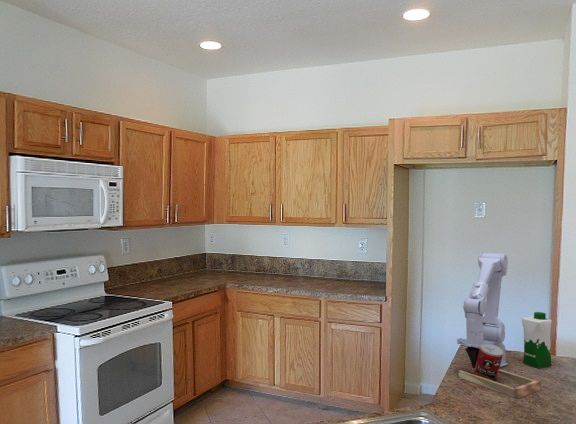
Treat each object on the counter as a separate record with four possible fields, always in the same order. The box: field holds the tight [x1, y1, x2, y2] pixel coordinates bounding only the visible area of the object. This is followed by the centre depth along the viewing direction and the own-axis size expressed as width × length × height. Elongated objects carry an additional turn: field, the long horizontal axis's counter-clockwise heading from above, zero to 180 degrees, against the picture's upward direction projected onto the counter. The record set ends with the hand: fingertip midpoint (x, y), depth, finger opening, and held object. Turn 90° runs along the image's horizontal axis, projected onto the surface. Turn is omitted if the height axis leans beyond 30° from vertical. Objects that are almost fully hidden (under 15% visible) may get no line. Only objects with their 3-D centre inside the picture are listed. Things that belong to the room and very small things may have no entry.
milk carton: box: [521, 311, 553, 370], centre depth 178 cm, size 9×9×20 cm
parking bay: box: [458, 368, 542, 399], centre depth 160 cm, size 13×23×3 cm, turn 32°
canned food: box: [474, 343, 503, 382], centre depth 163 cm, size 8×8×11 cm
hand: (475, 367), depth 168 cm, fingers closed
